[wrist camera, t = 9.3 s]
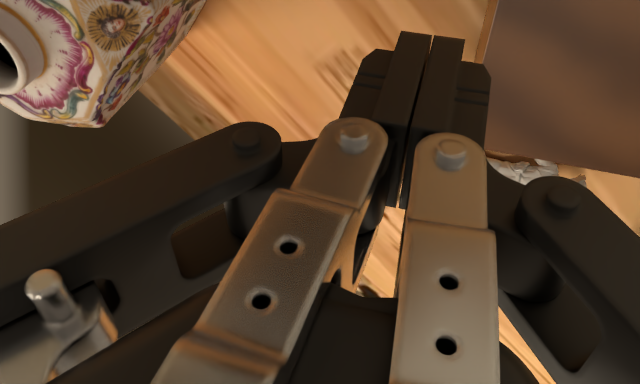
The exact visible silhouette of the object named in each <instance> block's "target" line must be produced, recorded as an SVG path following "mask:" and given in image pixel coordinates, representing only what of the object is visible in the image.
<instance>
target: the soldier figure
mask: <svg viewBox="0 0 640 384" xmlns="http://www.w3.org/2000/svg"><path fill="white" fill-rule="evenodd" d="M486 158H487V160H488V162H489V163H490V164H491V165H492V167H493V168H494V169H496V170H497V171H498V172H499V173H501V174H502V175H504V176H506V177H508V178H510V179H512V180H514V181H517V182H519V183H521V184H524V185H526V184H527V183H528V182H530V181H531V180H533V179H535V178H538V177H542V176H558V177H560V176H559V174H558V173H559V171H558V166H557V165H556V164H555V163H554V162H550V161H544V160H539V159H534V160H535V162H536V163H537V164H538V165H539V166H530V163H527V162H523V161H520V162H518V163H511V162H509V161H504V162H502V161H500V160H497V159H492V158H488V157H486ZM571 180H573V181H576V182H578V183H580V184H582V185H583V186H585V187H586V188H587V186H586V182H585V180H586V177H585V175H581V174H580V175H579V176H578V177H576V178H572V179H571Z"/></svg>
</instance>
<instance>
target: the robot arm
mask: <svg viewBox="0 0 640 384" xmlns="http://www.w3.org/2000/svg"><path fill="white" fill-rule="evenodd" d="M431 38H432V35H428V34H420V33H413V32H406V31H401V33H400V36H399V39H398V42H397V45H396V47H395V50H394V51H389V50H382V49H375V50H374V51H372V52H371V53H370V54H369V55H367V56H366V57H365V58H363V60H362V62H361V65H360V67H359V70H358V73H357V75H356V77H355V80H354V82H353V85H352V87H351V89H350V92H349V94H348V97H347V99H346V102H345V104H344V107H343V109H342V112H341V114H340V117H339V119H337V120H335V121H332V122H331V123H329V124H328V125H326V126H325V127H324V129H323V130H322V132H321V133H320V135H319V137H318V138H316V139H312V140H308V141H297V142H281V137H280V135H279V133H278V132H277V131H276V130H275V129H274V128H272V127H271V126H269V125H266V124H264V123H259V122H240V123H236V124H233V125H230V126H228V127H225V128H223V129H221V130H219V131H216V132H214V133H212V134H209V135H207V136H205V137H202V138H200V139H198V140H196V141H193V142H191V143H189V144H186V145H184V146H182V147H179V148H177V149H175V150H172V151H170V152H168V153H166V154H163V155H161V156H159V157H156V158H154V159H152V160H150V161H147V162H145V163H143V164H140V165H138V166H136V167H133V168H131V169H129V170H126V171H124V172H122V173H119V174H117V175H115V176H113V177H110V178H108V179H106V180H103V181H101V182H99V183H96V184H94V185H92V186H90V187H87V188H85V189H83V190H81V191H78V192H76V193H73V194H71V195H69V196H67V197H64V198H62V199H60V200H57V201H55V202H53V203H51V204H48V205H46V206H44V207H41V208H39V209H37V210H34V211H32V212H30V213H28V214H25V215H23V216H20V217H18V218H16V219H13V220H11V221H9V222H7V223H4V224H2V225H0V384H539V382H538V381H537V379H536V378H535V377H534V375H533V374H532V372H531V371H530V370H529V369H528V368H527V366H526V365H525V364H524V363H523V362H522V361H521V360H520V358H519V357H517V356H516V355H515V354H514V353H513V352H512V351H511V350H510V349H509V348H508V347H506V346H505V345H504V344H502V343H501V342H500V341H499V321H498V306H499V307H500V308H501V310H502V311H503V312H504V314H505V315H506V316H507V318H508V319H509V321H510V322H511V323H512V325H513V326H514V327H515V329H516V330H517V331H518V333H519V334H520V335H521V337H522V338H523V339H524V341H525V342H526V343H527V345H528V346H529V347H530V349H531V350H532V351H533V353H534V354H535V356H536V357H537V358H538V360H539V361H540V362H541V364H542V365H543V366H544V368H545V369H546V370H547V372H548V373H549V374H550V376H551V377H552V378H553V380H554V381H555V382H556V384H640V237H639V236H638V235H637V234H636V233H635V232H633V231H632V230H631V229H630V228H629V227H628V226H627V225H626V224H625V223H624V222H623V221H622V220H621V219H620V218H619V217H618V216H617V215H616V214H614V213H613V212H612V211H611V210H610V209H609V208H608V207H607V206H606V205H605V204H604V203H603V202H602V201H601V200H600V199H599V198H598V197H597V196H595V195H594V194H593V193H592V192H591V191H590V190H589V189H588V188H586V187H585V186H583V185H582V184H580V183H578V182H576V181H573V180H571V179H568V178H564V177H558V176H542V177H538V178H535V179H533V180H531V181H530V182H528V183H527V184H526V185H524V184H521V183H519V182H517V181H514V180H512V179H510V178H508V177H506V176H504V175H502V174H501V173H499V172H498V171H497V170H496V169H494V168H493V167H492V165H491V164H490V163H489V162H488V160H487V158H486V155H485V152H484V143H485V134H486V124H487V115H488V105H489V97H490V95H489V94H490V87H491V76H490V74H489V73H488V71H487V69H486V67H485V66H484V64H479V63H473V62H466V61H461V59H462V54H463V48H464V43H465V39H458V38H450V37H443V36H436V35H434V38H433V42H432V46H431ZM430 46H431V50H430ZM429 52H430V54H429ZM402 180H403V182H402ZM401 184H402V189H401V196H400V202H399V208H400V209H405V216H404V223H403V228H402V234H401V241H400V249H399V257H398V265H397V273H396V281H395V289H394V297H393V298H367V297H361V296H358V295H356V294H355V292H356V290H357V287H358V284H359V282H360V279H361V276H362V274H363V271H364V268H365V266H366V263H367V260H368V258H369V255H370V252H371V250H372V247H373V244H374V242H375V239H376V236H377V233H378V227H379V223H380V222H381V220H382V217H383V213H384V209H385V206H389V207H394V208H396V204H397V200H398V196H399V192H400V188H401ZM222 203H224V207H225V208H224V209H222V210H220V211H218V212H216V213H214V214H212V215H210V216H208V217H206V218H204V219H202V220H200V221H198V222H196V223H194V224H192V225H190V226H188V227H186V228H184V229H182V230H180V231H178V232H176V233H174V234H173V232H174V231H175V229H176V228H177V227H178V226H180V225H181V224H182V223H184V222H186V221H188V220H190V219H192V218H194V217H196V216H198V215H200V214H202V213H204V212H206V211H208V210H210V209H212V208H214V207H216V206H218V205H220V204H222ZM219 281H221V282H220V283H218V284H215V283H217V282H219ZM214 284H215V285H214ZM158 315H159V316H158ZM153 318H154V319H153ZM151 319H152V320H151ZM150 320H151V321H150ZM148 321H149V322H148ZM146 322H147V323H146ZM144 323H146V324H144ZM142 324H144V325H143V326H141V325H142ZM139 326H141V327H139ZM137 327H139V328H137ZM135 328H137V329H136V330H134V329H135ZM132 330H134V331H132ZM130 331H132V332H131V333H129V334H127V335H126V336H124V337H122V338H121V339H119V340H117V339H118V338H119V337H121V336H123V335H125V334H126V333H128V332H130Z"/></svg>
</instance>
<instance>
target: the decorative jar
mask: <svg viewBox="0 0 640 384" xmlns="http://www.w3.org/2000/svg"><path fill="white" fill-rule="evenodd" d="M205 2H206V0H0V104H1V105H3V106H5V107H7V108H9V109H11V110H12V111H14V112H15V113H17V114H19V115H21V116H23V117H25V118H28V119H31V120H37V121H44V122H49V123H56V124H64V125H67V126H72V127H75V126H77V127H95V128H99V127H103V126H104V125H105V124H106V123H107V122H108V121H109V119H110V118H111V117H112V116H113V115H114V114H115V113H116V112H117V111H118V110H119V109H120V108H121V107H122V105H123V104H124V103H125V102H126V101H127V100H128V99H129V98H130V97H131V96H132V94H134V93H135V91H137V90H138V89H139V88H140V87H141V86H142V85H143V83H144V82H146V80H147V79H148V78H149V77H150V76H151V75H152V74H153V73H154V72H155V71H156V70H157V69H158V68H159V67H160V66H161V64H162V63H163V62H164V61H165V60H166V59H167V58H168V57H169V56H170V54H171V53H172V52H173V51H174V50H175V49H176V47H177V46H178V45H179V44H180V43H181V41H182V40H183V39H184V38H185V37H186V36H187V34H188V32H189V30H190V28H191V27H192V24H193V23H194V21H195V19H196V18H197V16H198V14H199V12H200V10H201V9H202V7H203V5H204V4H205Z"/></svg>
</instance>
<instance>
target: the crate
mask: <svg viewBox="0 0 640 384" xmlns="http://www.w3.org/2000/svg"><path fill="white" fill-rule="evenodd" d="M474 63H479V64H484V66H485V67H486V69H487V71H488V73H489V74H490V76H491V87H490V94H489V95H490V97H489V105H488V115H487V124H486V134H485V143H484V149H485V150H491V151H496V152H501V153H507V154H512V155H517V156H523V157H528V158H534V159H539V160H544V161H550V162H555V163H560V164H566V165H571V166H577V167H582V168H587V169H593V170H598V171H603V172H609V173H614V174H620V175H625V176H630V177H636V178H640V0H489V3H488V7H487V11H486V15H485V19H484V24H483V28H482V32H481V36H480V40H479V44H478V48H477V52H476V57H475V61H474Z"/></svg>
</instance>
